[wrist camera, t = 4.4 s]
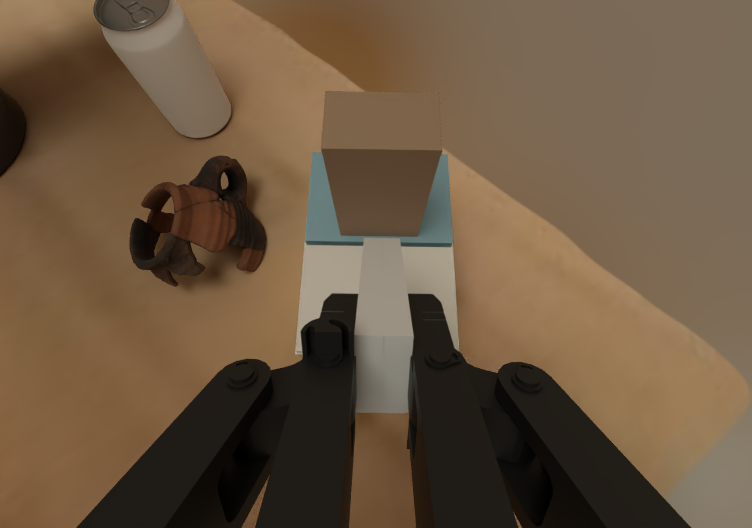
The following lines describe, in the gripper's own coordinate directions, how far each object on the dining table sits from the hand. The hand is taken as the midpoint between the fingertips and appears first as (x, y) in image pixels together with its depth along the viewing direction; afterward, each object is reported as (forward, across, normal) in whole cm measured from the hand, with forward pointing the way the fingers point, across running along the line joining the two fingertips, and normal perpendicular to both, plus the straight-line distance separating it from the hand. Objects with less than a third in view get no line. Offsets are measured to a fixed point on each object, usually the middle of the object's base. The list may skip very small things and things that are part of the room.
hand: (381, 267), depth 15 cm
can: (+28, -19, +4) cm, 34 cm away
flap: (+11, 0, 0) cm, 11 cm away
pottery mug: (+18, -15, -6) cm, 24 cm away
